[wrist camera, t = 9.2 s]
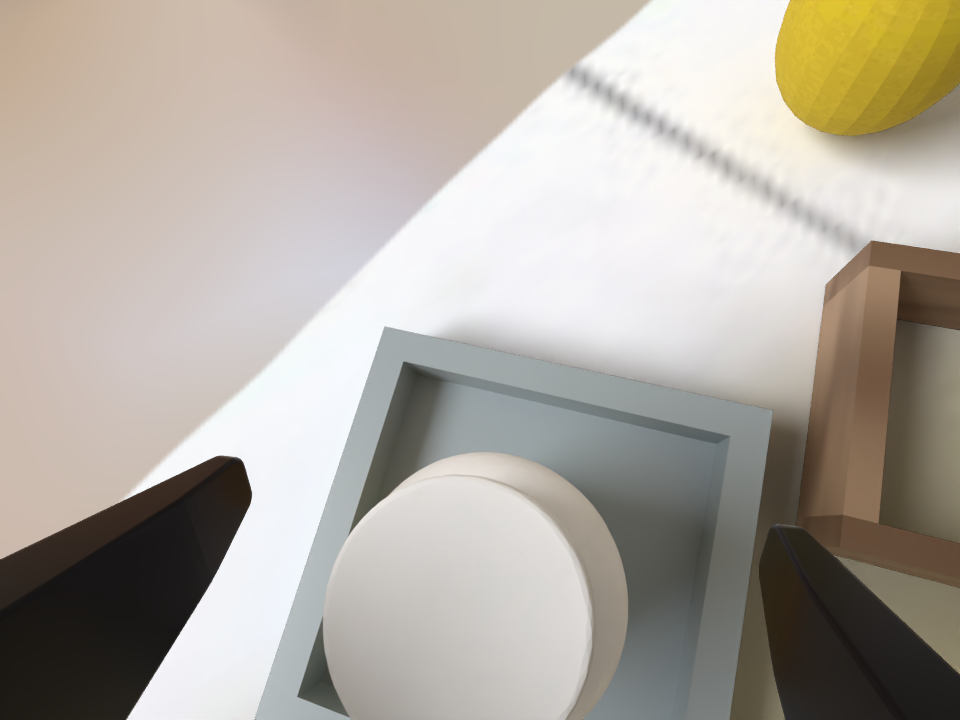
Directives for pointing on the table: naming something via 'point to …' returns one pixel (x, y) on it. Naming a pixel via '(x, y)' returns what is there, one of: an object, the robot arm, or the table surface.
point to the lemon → (866, 61)
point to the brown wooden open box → (871, 405)
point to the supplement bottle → (476, 598)
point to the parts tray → (588, 467)
